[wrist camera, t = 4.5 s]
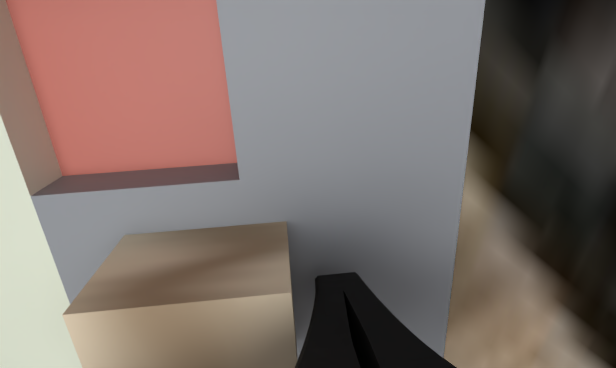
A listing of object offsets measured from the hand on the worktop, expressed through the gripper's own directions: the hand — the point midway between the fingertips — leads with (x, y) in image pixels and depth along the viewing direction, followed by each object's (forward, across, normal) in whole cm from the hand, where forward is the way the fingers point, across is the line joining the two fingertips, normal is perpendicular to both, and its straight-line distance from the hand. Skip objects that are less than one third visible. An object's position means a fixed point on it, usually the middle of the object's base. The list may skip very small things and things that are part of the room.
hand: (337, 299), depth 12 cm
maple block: (+1, +4, 0) cm, 4 cm away
